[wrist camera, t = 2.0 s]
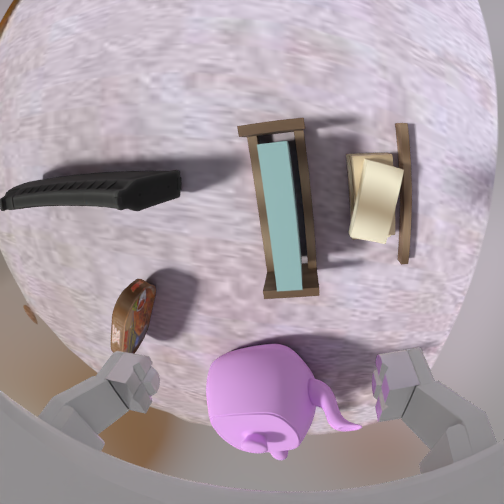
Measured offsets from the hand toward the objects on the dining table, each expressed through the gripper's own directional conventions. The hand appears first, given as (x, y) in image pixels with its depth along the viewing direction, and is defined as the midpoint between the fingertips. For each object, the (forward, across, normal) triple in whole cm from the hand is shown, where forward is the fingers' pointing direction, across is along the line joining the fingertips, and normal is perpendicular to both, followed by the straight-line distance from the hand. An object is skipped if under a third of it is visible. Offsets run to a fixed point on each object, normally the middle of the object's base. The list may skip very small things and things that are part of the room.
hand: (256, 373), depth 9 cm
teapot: (+25, +5, +28) cm, 38 cm away
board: (+25, 0, 0) cm, 25 cm away
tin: (+25, +24, +14) cm, 37 cm away
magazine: (+25, +27, -7) cm, 37 cm away
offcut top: (+22, -10, 0) cm, 25 cm away
